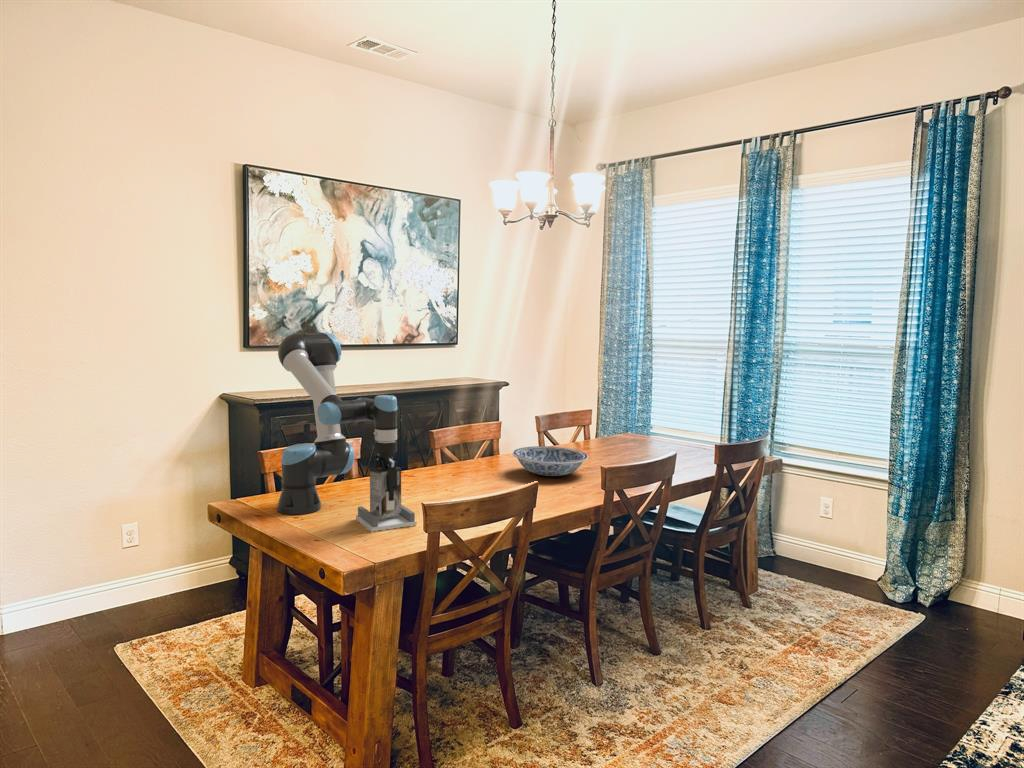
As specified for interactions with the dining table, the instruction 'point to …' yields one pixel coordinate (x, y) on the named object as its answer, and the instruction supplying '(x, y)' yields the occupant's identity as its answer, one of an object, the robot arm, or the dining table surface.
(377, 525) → the guide cradle
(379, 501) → the coffee box
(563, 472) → the ceramic bowl
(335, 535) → the dining table surface
